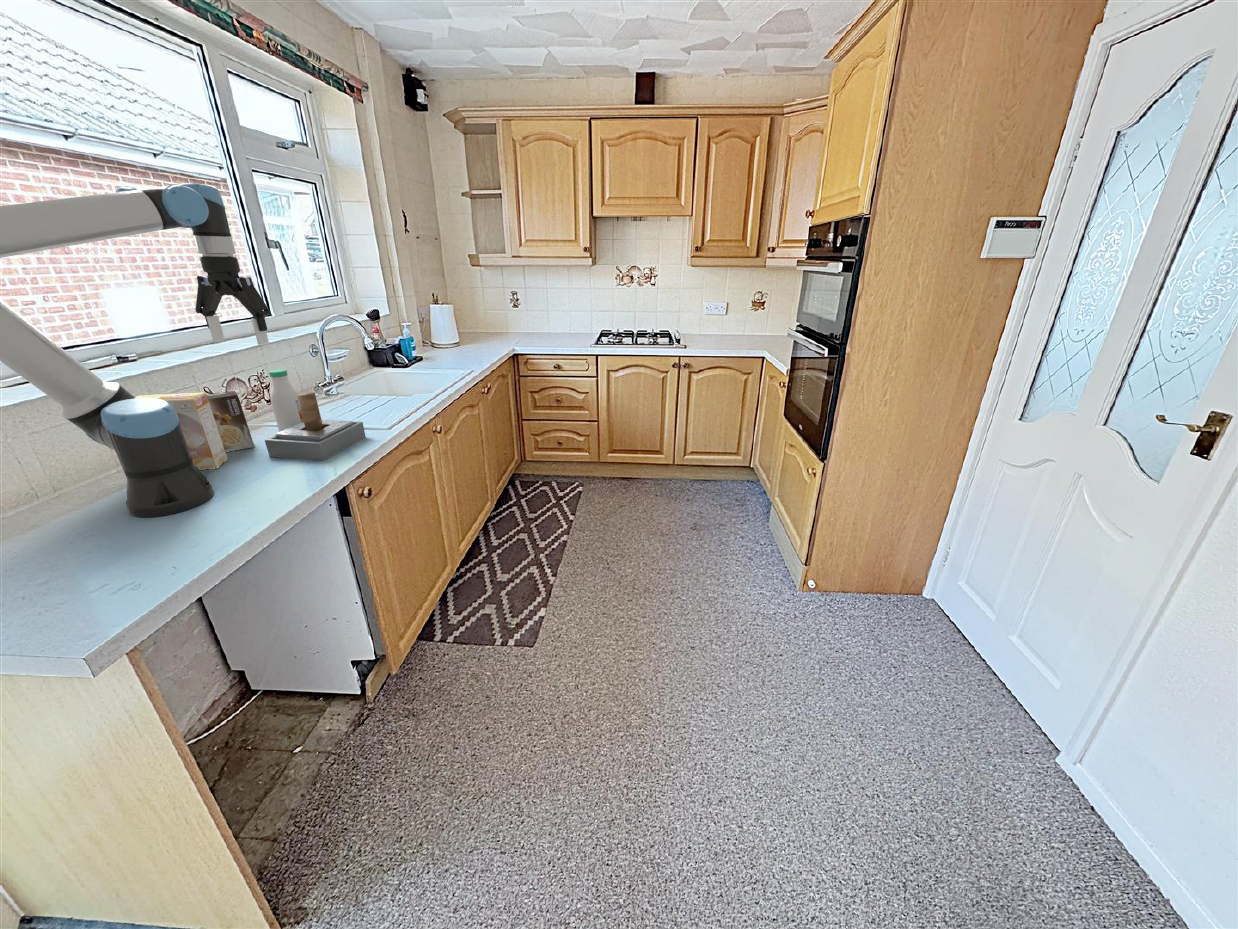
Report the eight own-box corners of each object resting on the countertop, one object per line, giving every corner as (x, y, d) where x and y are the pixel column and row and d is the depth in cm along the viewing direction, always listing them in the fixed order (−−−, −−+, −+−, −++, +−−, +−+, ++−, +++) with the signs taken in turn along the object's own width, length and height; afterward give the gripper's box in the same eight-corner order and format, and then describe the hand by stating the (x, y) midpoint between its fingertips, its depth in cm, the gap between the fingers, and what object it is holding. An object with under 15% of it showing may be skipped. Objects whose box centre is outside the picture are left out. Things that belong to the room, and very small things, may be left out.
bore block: (324, 453, 141) (320, 436, 139) (279, 450, 143) (275, 433, 141) (355, 436, 153) (352, 421, 151) (314, 433, 155) (310, 418, 153)
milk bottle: (298, 436, 156) (282, 373, 148) (274, 436, 156) (256, 373, 148) (313, 428, 163) (297, 367, 155) (289, 428, 163) (273, 367, 155)
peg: (319, 446, 146) (307, 396, 140) (305, 445, 146) (292, 395, 140) (330, 440, 150) (318, 392, 144) (316, 440, 150) (304, 391, 144)
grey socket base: (323, 460, 139) (319, 443, 137) (269, 456, 141) (264, 439, 139) (365, 437, 156) (362, 421, 154) (316, 433, 158) (312, 418, 156)
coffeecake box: (150, 475, 129) (120, 402, 121) (165, 464, 135) (138, 394, 128) (217, 469, 133) (192, 398, 125) (228, 459, 139) (206, 391, 131)
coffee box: (251, 441, 152) (236, 389, 145) (255, 447, 147) (239, 394, 141) (214, 448, 146) (196, 395, 140) (216, 455, 142) (198, 400, 135)
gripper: (274, 256, 125) (293, 342, 133) (190, 254, 129) (214, 338, 137) (248, 256, 118) (270, 347, 126) (160, 254, 122) (187, 342, 130)
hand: (241, 342), depth 132 cm, fingers open, 13 cm apart
